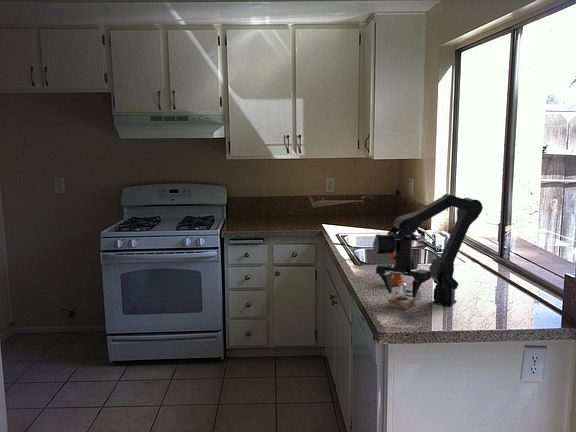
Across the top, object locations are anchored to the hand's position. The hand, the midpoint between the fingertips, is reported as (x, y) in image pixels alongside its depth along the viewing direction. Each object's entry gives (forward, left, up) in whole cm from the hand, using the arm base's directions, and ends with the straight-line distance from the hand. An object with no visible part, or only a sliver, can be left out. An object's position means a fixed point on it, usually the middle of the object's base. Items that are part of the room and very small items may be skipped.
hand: (401, 295), depth 183 cm
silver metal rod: (0, 0, -4) cm, 4 cm away
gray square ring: (+2, -9, -4) cm, 10 cm away
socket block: (0, 0, -4) cm, 4 cm away
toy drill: (+17, -26, -4) cm, 31 cm away
